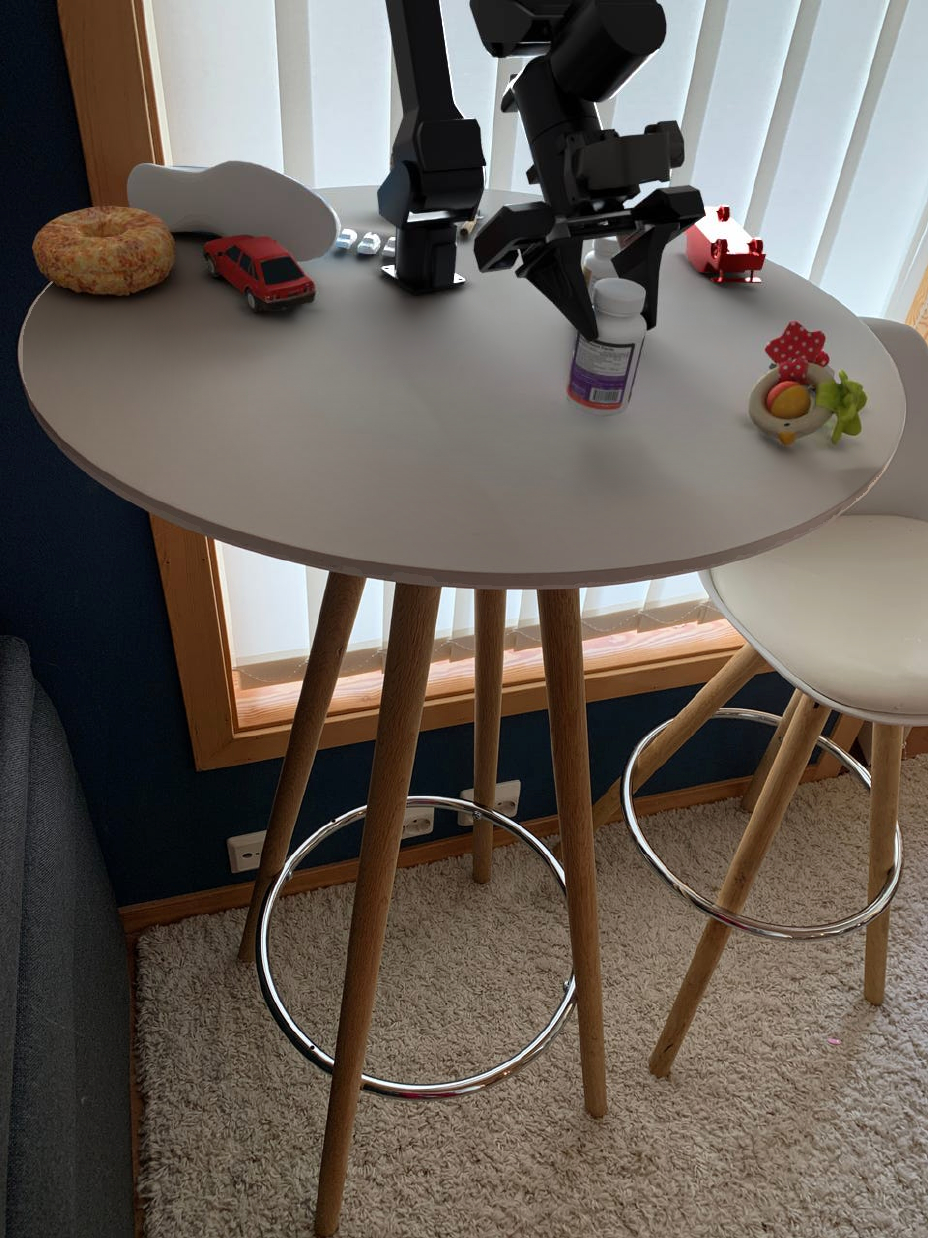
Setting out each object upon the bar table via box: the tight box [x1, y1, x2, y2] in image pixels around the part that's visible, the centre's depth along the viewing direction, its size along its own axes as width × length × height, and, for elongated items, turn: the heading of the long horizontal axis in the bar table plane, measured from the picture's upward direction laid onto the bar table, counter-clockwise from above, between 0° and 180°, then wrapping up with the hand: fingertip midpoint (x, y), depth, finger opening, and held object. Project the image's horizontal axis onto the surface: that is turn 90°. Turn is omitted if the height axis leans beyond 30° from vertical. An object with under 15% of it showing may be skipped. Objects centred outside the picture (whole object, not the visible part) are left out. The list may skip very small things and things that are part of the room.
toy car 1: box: [202, 235, 317, 313], centre depth 90 cm, size 6×14×5 cm, turn 37°
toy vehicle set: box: [334, 228, 395, 258], centre depth 101 cm, size 12×4×2 cm, turn 79°
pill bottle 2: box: [565, 278, 647, 417], centre depth 75 cm, size 5×5×10 cm
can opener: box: [459, 208, 485, 238], centre depth 110 cm, size 9×2×1 cm, turn 174°
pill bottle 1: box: [582, 236, 620, 306], centre depth 93 cm, size 4×4×8 cm
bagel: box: [31, 205, 177, 297], centre depth 90 cm, size 13×14×5 cm
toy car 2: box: [683, 204, 767, 284], centre depth 106 cm, size 14×6×5 cm, turn 10°
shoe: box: [126, 159, 342, 263], centre depth 100 cm, size 9×23×12 cm
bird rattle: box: [747, 319, 868, 447], centre depth 79 cm, size 6×11×9 cm
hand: (622, 334), depth 73 cm, fingers closed on pill bottle 2, 5 cm apart
